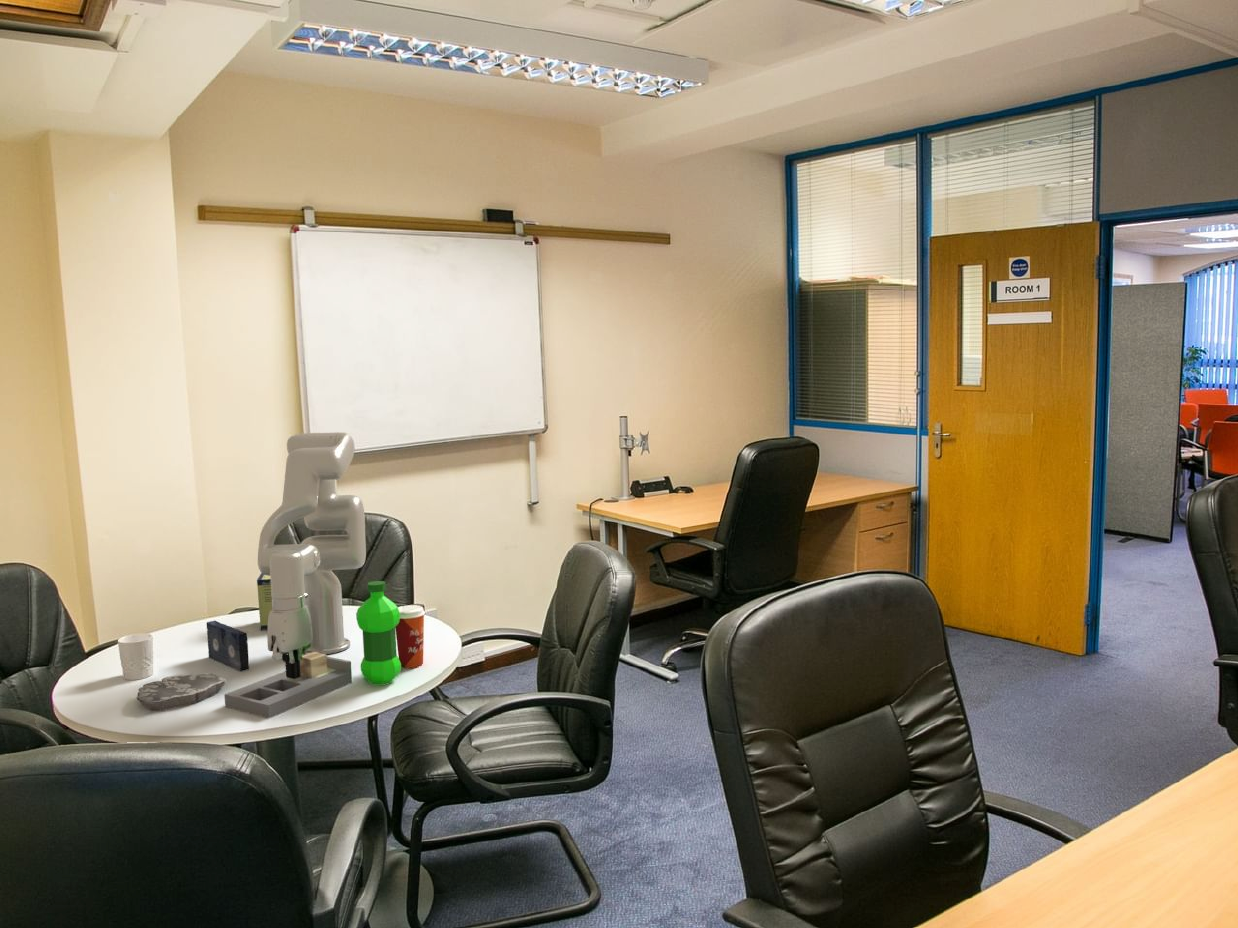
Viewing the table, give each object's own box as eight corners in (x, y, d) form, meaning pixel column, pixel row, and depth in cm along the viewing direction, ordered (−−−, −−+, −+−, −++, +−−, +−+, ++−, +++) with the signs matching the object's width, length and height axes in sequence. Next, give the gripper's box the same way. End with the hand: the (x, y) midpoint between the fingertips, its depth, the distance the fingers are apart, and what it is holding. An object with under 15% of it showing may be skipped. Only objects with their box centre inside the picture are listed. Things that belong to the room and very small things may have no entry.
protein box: (264, 621, 285) (260, 571, 283) (317, 616, 289) (314, 568, 287) (259, 630, 275) (255, 579, 273) (314, 626, 278) (311, 575, 277)
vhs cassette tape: (250, 669, 241) (247, 632, 239) (238, 672, 239) (236, 635, 237) (219, 655, 253) (216, 619, 252) (208, 657, 251) (205, 622, 250)
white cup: (162, 672, 240) (159, 634, 239) (137, 682, 233) (134, 643, 231) (139, 669, 243) (135, 632, 241) (113, 679, 235) (110, 641, 234)
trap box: (225, 706, 215) (223, 683, 214) (309, 673, 236) (308, 652, 236) (269, 718, 208) (267, 694, 207) (352, 682, 229) (350, 661, 228)
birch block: (300, 674, 227) (299, 656, 226) (316, 669, 231) (315, 651, 230) (311, 677, 224) (310, 659, 224) (327, 672, 228) (326, 654, 227)
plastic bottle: (381, 691, 223) (376, 590, 220) (351, 684, 228) (345, 585, 225) (411, 678, 231) (406, 580, 228) (381, 671, 237) (376, 576, 234)
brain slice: (196, 679, 235) (195, 668, 234) (235, 692, 225) (234, 680, 225) (118, 704, 219) (117, 691, 219) (156, 719, 209) (155, 706, 209)
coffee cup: (419, 670, 237) (416, 613, 235) (389, 669, 239) (386, 612, 237) (432, 659, 245) (430, 604, 243) (403, 658, 247) (400, 603, 245)
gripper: (302, 593, 229) (306, 665, 231) (252, 608, 216) (257, 684, 218) (324, 597, 225) (328, 670, 227) (274, 612, 212) (279, 689, 214)
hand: (293, 677), depth 222 cm, fingers closed
